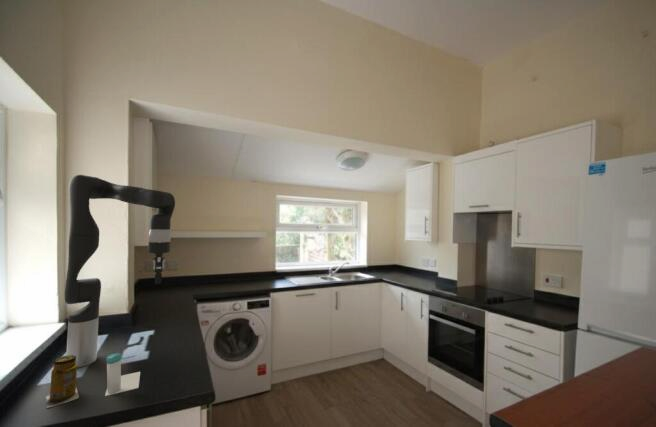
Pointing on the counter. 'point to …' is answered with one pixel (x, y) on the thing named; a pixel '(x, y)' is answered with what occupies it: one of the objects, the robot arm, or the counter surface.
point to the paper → (128, 382)
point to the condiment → (63, 381)
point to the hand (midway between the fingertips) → (158, 281)
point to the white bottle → (113, 373)
